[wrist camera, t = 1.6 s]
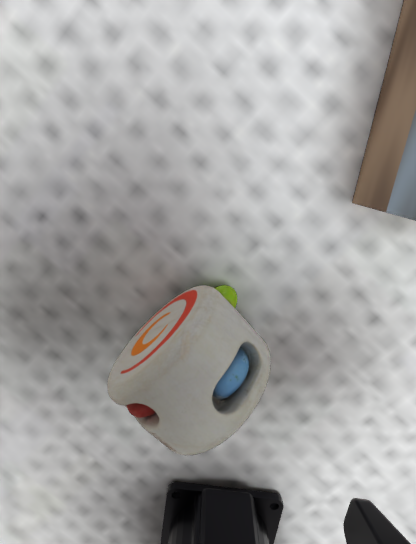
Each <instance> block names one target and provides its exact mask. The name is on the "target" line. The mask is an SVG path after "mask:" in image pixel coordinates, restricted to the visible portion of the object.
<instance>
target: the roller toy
mask: <svg viewBox="0 0 416 544" xmlns="http://www.w3.org/2000/svg"><path fill="white" fill-rule="evenodd" d="M236 304H237V294H236V292H235V290H234V289H233V288H232V287H230V286H226V285H222V286H218V287H216V288H213V287H210V286H205V285H201V286H196V287H193V288H190V289H188V290H186V291H184V292H183V293H181V294H179V295H178V296H176V297H175V298H173V299H172V300H171V301H169V302H168V303H167V304H166V305H164V306H163V307H162V308H161V309H160V310H159V311H157V312H156V313H155V314H154V315H153V316H152V317H151V318H150V319H149V320H148V321H147V322H146V323H145V324H144V325H143V326H142V327H141V328H140V330H139V331H138V332H137V333H136V334H135V335H134V337H133V338H132V339H131V340H130V341H129V343H128V344H127V345H126V347H125V348H124V349H123V351H122V352H121V354H120V355H119V357H118V358H117V360H116V362H115V363H114V365H113V367H112V369H111V372H110V374H109V378H108V384H107V388H108V393H109V396H110V398H111V399H112V400H113V401H114V402H115V403H117V404H119V405H124V406H125V407H127V408H128V410H129V412H130V413H131V414H132V415H134V416H135V418H136V419H137V421H138V422H139V423H140V424H141V426H142V427H143V428H144V429H145V430H147V431H148V432H149V433H150V434H151V435H153V436H154V437H155V438H156V439H158V440H159V441H160V442H161V443H163V444H164V445H165V446H166V447H168V448H169V449H170V450H171V451H173V452H175V453H177V454H181V455H196V454H200V453H203V452H206V451H208V450H210V449H213V448H215V447H216V446H218V445H220V444H221V443H223V442H224V441H225V440H227V439H228V438H229V437H230V436H231V435H233V434H234V433H235V432H236V431H237V430H238V429H239V428H240V427H241V426H242V425H243V423H244V422H245V421H246V420H247V418H248V417H249V416H250V415H251V413H252V412H253V410H254V409H255V407H256V406H257V404H258V402H259V400H260V399H261V397H262V394H263V392H264V390H265V388H266V385H267V381H268V378H269V374H270V366H271V358H270V352H269V349H268V347H267V345H266V343H265V342H264V340H263V339H262V338H261V337H260V336H259V335H258V334H257V332H256V331H255V330H254V329H253V328H252V327H251V326H250V325H249V323H248V322H247V321H246V320H245V319H244V318H243V317H242V316H241V315H240V313H239V312H238V311H237V310H236V309H235V307H236Z"/></svg>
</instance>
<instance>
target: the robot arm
mask: <svg viewBox="0 0 416 544" xmlns="http://www.w3.org/2000/svg"><path fill="white" fill-rule="evenodd" d="M282 510H283V501H282V498H281V496H280V495H279V494H276V493H270V492H261V491H252V490H243V489H235V488H226V487H217V486H208V485H199V484H191V483H182V482H173V483H171V484H170V485H169V486H168V490H167V498H166V506H165V514H164V522H163V529H162V537H161V544H274V540H275V536H276V533H277V529H278V525H279V521H280V518H281V514H282ZM344 533H345V538H346V542H347V544H410V543H409V542H408V540H407V539H406V538H405V537H404V536H403V535H402V534H401V533H400V532H399V531H398V530H397V529H396V528H395V527H394V526H393V525H392V523H391V522H390V521H389V520H388V519H387V518H386V517H385V516H384V515H383V514H382V513H381V512H380V511H379V510H378V509H377V508H376V506H375V505H374V504H373V503H372V502H370V501H369V500H367V499H359V498H353V499H352V500H351V502H350V505H349V508H348V510H347V513H346V516H345V519H344Z"/></svg>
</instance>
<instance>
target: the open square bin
mask: <svg viewBox="0 0 416 544" xmlns="http://www.w3.org/2000/svg"><path fill="white" fill-rule="evenodd" d="M352 203H354V204H358V205H362V206H365V207H369V208H372V209H376V210H380V211H383V212H387V213H390V214H394V215H397V216H401V217H405V218H408V219H412V220H415V221H416V0H404V2H403V6H402V10H401V14H400V18H399V22H398V26H397V30H396V33H395V37H394V41H393V45H392V49H391V53H390V57H389V61H388V65H387V69H386V73H385V76H384V80H383V84H382V88H381V92H380V96H379V100H378V104H377V108H376V112H375V115H374V119H373V123H372V127H371V131H370V135H369V139H368V143H367V147H366V151H365V155H364V158H363V162H362V166H361V170H360V174H359V178H358V182H357V186H356V190H355V194H354V198H353V201H352Z"/></svg>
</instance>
